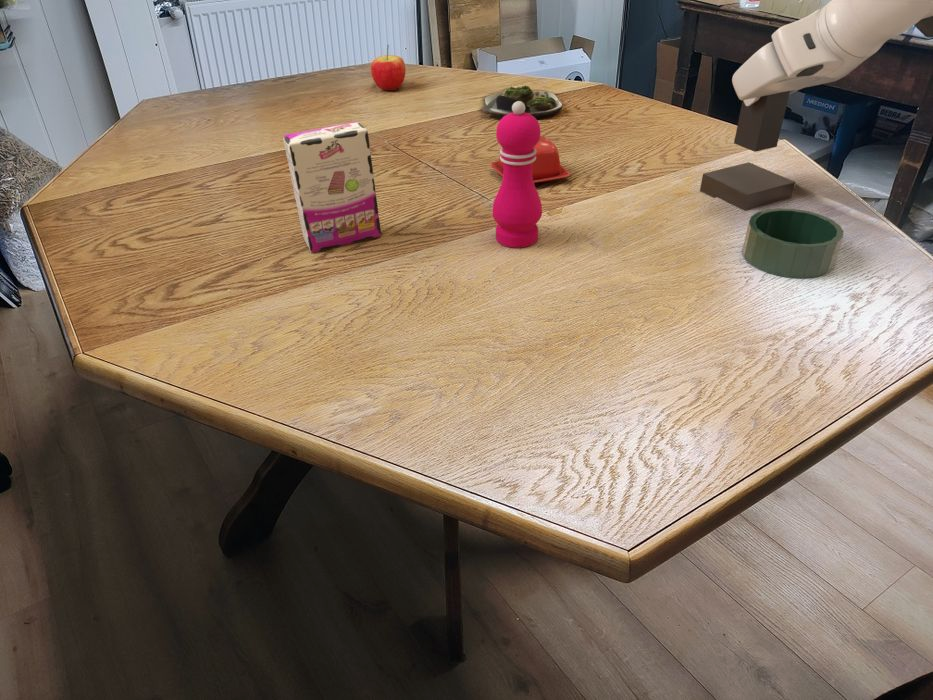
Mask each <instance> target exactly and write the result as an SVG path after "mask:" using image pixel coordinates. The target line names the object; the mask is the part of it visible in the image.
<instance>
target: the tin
mask: <svg viewBox="0 0 933 700" xmlns="http://www.w3.org/2000/svg"><path fill="white" fill-rule="evenodd" d="M745 232H746V233H745V236H744V242H743V245H742V249H741V252H742V256H743V258H744V260H745V261H746V262H747V264H749V265H751V266H752V267H754V268H755V269H757V270H759V271H761V272H764V273H766V274H770V275H773V276H777V277H780V278H788V279H802V280H803V279H805V280H806V279H814V278H819V277H822V276H825V275H827V274H828V273H830V272H831V271H832V270H834V269H833V268H834V266H835V263H836V260H837V257H838V254H839V251H840V247H841V244H842V241H843V238H844V229H843V228H842V227H841V225H840V224H838V223H837V222H836V221H835V220H834V219H831V218H829V217H827V216H825V215H823V214H820V213H816V212H813V211H810V210H804V209H799V208H788V207H787V208H784V207H777V208H776V207H775V208H768V209H764V210H761V211H760V210H759V211H757V212H755V213H754V214H752V215H751V216H750V218H749V221H748V223H747V228H746V231H745Z"/></svg>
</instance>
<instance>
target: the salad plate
mask: <svg viewBox="0 0 933 700" xmlns="http://www.w3.org/2000/svg"><path fill="white" fill-rule="evenodd" d="M517 101H521V102H523V103H524V105H525V111H524V112H525V113H528V114H530V115H532V116H534V117H535V118H536V120H537V121H538V120H545V119H550V118H553V117H555V116H557V114H559V113H560V112H561V110H562V109H563V104H562V102H561V101H560V99H559V98H558V96H557V95H556V94H555V93H553V92H551V91H550V92H549V91H546V90H545V91H543V90H533V89H532V88H531V87H530V86H529V85H526V84H524V85H521V86H518V85H517V84H514V85H513V86H510V87H507V88H506V89H505V90H503V91H502V92H500V93H494V94H491V95H488V96H485V99H484V102H485V105H484V106H483V108H481V110H482V111H483V112H485V113H487V114H490V115H491V116H492V117H493V118H494V117H495V119H497V120H499V121H500V120H501V119H502V118H503V117H504V116H506V115H507V114H509V113H513V111H512V105H513V104H514V103H515V102H517Z"/></svg>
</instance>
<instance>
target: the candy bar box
mask: <svg viewBox="0 0 933 700" xmlns="http://www.w3.org/2000/svg"><path fill="white" fill-rule="evenodd" d="M282 141H283V145H284V150H285V155H286V159H287V160H286V161H287V164H288V168H289V175H290V179H291V184H292V189H293V194H294V198H295V203H296V208H297V213H298V218H299V223H300V228H301V233H302V238H303V241H304V242H305V244H306V245H307V247H308V249H309V251H310V253H311V254H314V253H317V252H322V251H326V250H331V249H335V248H340V247H344V246H347V245H352V244H357V243H360V242H364V241H368V240H372V239H373V240H374V239H376V238H379V237H380V238H381V237H382V230H381V229H382V228H381V222H380V221H381V220H380V214H379V207H378V199H377V191H376V185H375V176H374V175H375V174H374V168H373V160H372V154H371V146H370V138H369V131H368V128H366V127H365V126H363V124H361V123H360V122H359V121H353V122H347V123H340V124H334V125H329V126H324V127H319V128H313V129H309V130H304V131H297V132H293V133H292V132H291V133H287V134H282Z"/></svg>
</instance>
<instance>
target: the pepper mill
mask: <svg viewBox="0 0 933 700" xmlns="http://www.w3.org/2000/svg"><path fill="white" fill-rule="evenodd" d="M512 111H513V113H509V114H507V115H506V116H504V117H503V118H502V119H501V120H500V119H499V122H498V124H497V126H496V131H495V135H496V136H495V137H496V139H497V143H498V144H499V145H500V146H501V148H500V150H499V158H500V160H501V161H502V162H503V168H504V171H503V177H502V181H501V184H500V187H499V188H498V191H497V193H496V195H495V197H494V199H493V204H492V212H491V213H492V214H491V215H492V218H493V220H494V221H495V223H497V225H496V226H495V240H496V242H497V243H498V244H500V245H502V246H503V247H506V248H513V249H514V248H515V249H518V248H519V249H520V248H526V247H530V246H532V245H534V244H535V243H536V242H537V241H538V239H539V227H538V225H537V224H538V223H539V221H540V220H541V218H542V216H543V206H542V201H541V197H540V195H539V192H538V190H537V188H536V185H535V183H534V182H533V177H532V165H533V162H534V161H535V160H536V155H535V154H536V149H535V148H534V146H535V145H536V144H537V143H538V141H539V139H540V135H541V125H540V123H539V121H538V120H536V118H535V117H534V116H532V115H530V114H528V113H525V112H524V111H525V105H524V103H523V102H521V101H517V102H515V103H514V104H513V105H512ZM500 154H501V156H500Z"/></svg>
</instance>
